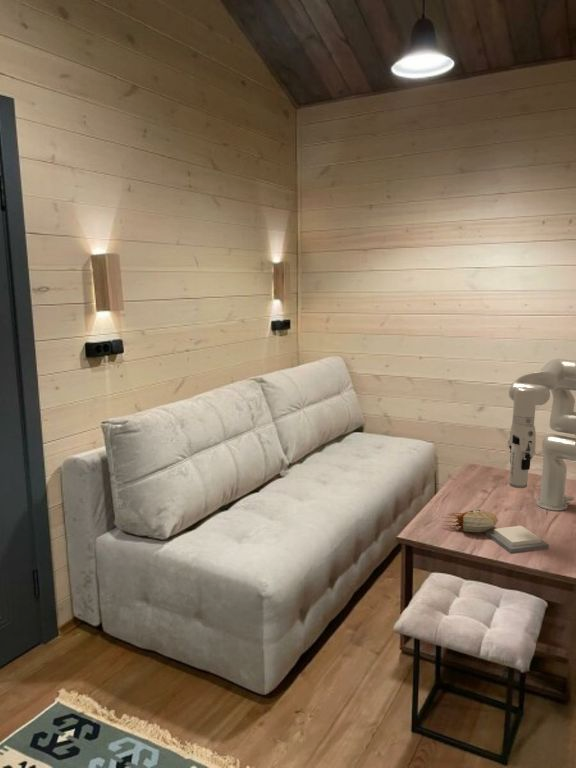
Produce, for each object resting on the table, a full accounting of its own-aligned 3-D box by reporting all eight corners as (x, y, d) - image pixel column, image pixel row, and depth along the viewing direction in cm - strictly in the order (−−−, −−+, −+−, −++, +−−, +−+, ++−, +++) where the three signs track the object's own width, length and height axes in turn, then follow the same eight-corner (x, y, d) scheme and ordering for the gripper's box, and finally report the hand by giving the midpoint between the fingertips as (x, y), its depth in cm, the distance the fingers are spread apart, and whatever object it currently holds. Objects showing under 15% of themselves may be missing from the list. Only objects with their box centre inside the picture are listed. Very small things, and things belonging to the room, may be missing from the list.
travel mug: (526, 483, 224) (530, 432, 221) (527, 489, 218) (530, 437, 215) (509, 481, 226) (512, 431, 223) (509, 487, 220) (512, 435, 217)
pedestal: (521, 530, 231) (522, 523, 231) (548, 548, 216) (549, 540, 215) (485, 534, 228) (486, 527, 227) (510, 553, 212) (510, 545, 212)
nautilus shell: (441, 535, 228) (442, 522, 242) (499, 538, 222) (497, 524, 236) (440, 515, 227) (441, 503, 242) (499, 517, 221) (497, 505, 236)
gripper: (547, 425, 210) (543, 473, 213) (518, 414, 227) (515, 459, 230) (528, 426, 208) (524, 474, 211) (501, 415, 225) (497, 460, 228)
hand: (519, 466), depth 221 cm, fingers closed on travel mug, 6 cm apart
